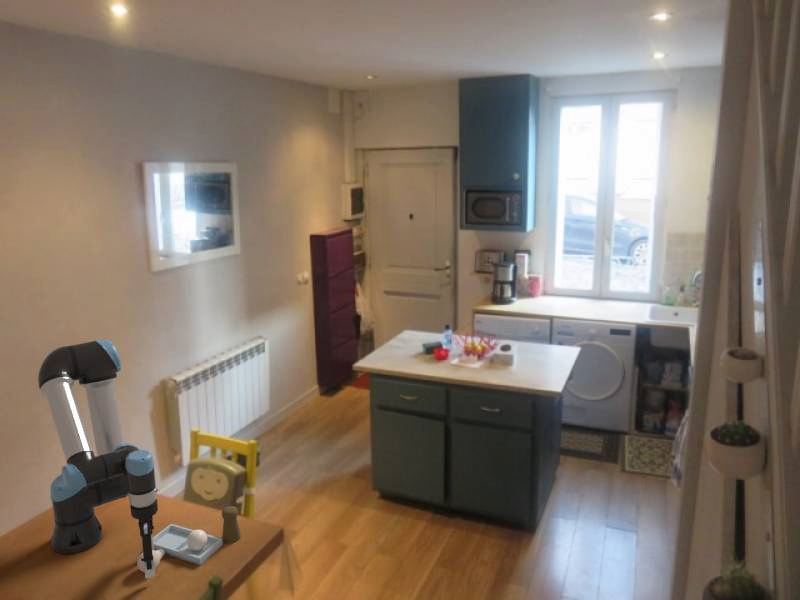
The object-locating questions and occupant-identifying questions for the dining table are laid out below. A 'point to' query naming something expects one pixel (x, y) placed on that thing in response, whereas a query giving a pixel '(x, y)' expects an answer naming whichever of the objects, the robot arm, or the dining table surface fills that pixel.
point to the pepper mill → (230, 525)
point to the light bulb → (156, 555)
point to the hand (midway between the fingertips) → (149, 563)
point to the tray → (184, 544)
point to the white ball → (197, 540)
